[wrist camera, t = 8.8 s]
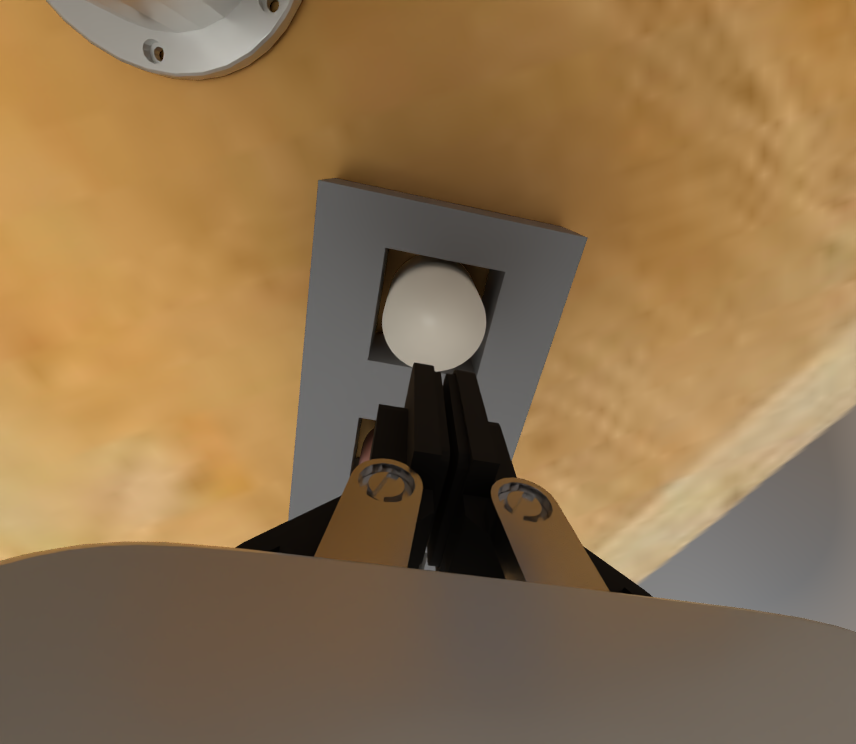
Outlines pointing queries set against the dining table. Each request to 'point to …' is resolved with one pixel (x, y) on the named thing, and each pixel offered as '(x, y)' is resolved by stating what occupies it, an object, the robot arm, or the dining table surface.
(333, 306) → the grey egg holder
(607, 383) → the dining table surface
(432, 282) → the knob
